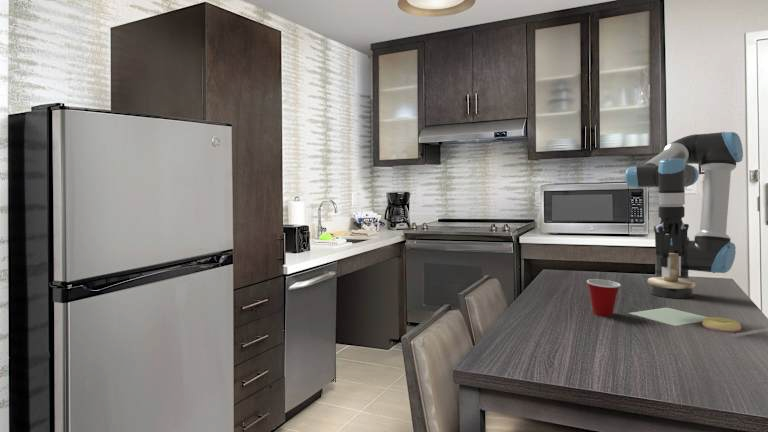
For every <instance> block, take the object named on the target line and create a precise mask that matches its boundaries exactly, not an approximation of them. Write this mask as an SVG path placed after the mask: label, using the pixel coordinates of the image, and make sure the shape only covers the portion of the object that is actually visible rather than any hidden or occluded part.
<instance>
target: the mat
mask: <svg viewBox="0 0 768 432" xmlns="http://www.w3.org/2000/svg"><path fill="white" fill-rule="evenodd" d="M628 314H630V315H633V316H638V317H640V318H645V319H648V320H650V321H651V320H652V321H655V322H659V323H662V324H665V325H666V324H667V325H671V326H674V327H676V326H677V327H678V326H681V325H682V326H683V325H689V324H695V323H700V322H701V323H702V321H703V320H704V319H705V318H709V317H708V316H704V315H700V314H696V313H692V312H688V311H683V310H678V309H674V308H671V307H662V308H661V307H660V308H654V309H647V310H640V311H634V312H633V311H632V312H628Z"/></svg>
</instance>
